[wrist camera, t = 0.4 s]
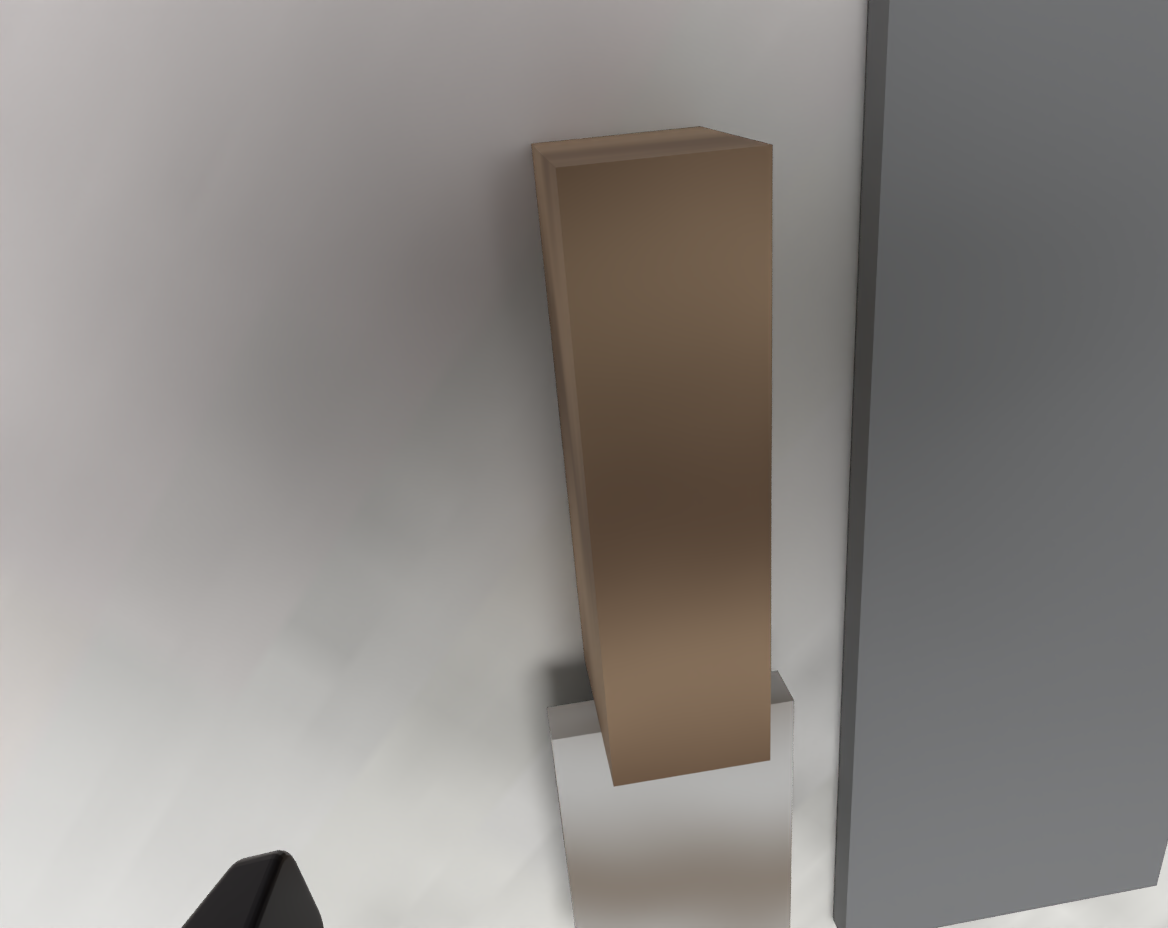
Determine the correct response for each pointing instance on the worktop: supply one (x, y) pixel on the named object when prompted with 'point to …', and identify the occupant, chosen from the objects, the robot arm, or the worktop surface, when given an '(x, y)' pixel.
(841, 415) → the worktop surface
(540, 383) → the worktop surface
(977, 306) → the tool mat
